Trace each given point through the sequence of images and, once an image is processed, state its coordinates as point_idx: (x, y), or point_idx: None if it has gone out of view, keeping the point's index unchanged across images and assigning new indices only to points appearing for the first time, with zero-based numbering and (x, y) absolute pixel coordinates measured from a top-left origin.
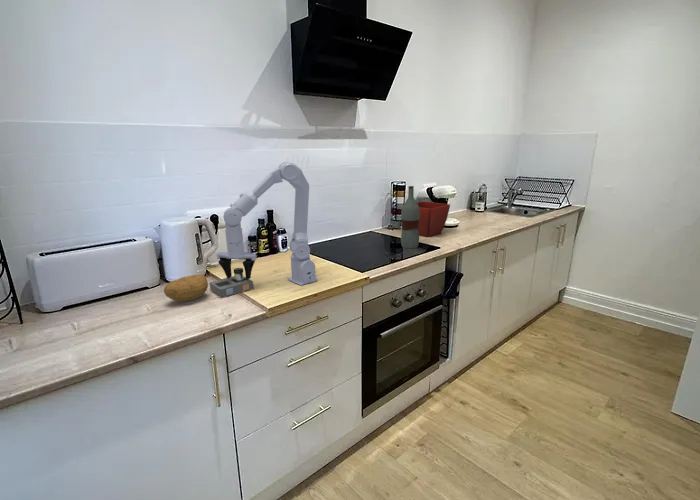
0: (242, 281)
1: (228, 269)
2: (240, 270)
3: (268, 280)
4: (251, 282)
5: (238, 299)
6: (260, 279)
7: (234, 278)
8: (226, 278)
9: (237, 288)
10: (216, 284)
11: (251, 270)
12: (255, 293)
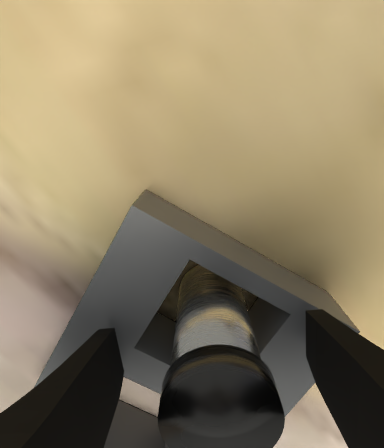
0: (268, 359)
1: (86, 431)
2: (274, 444)
3: (370, 77)
4: None
5: (314, 443)
6: (278, 73)
7: (147, 314)
8: (75, 331)
9: None
10: None
11: (381, 354)
12: None
